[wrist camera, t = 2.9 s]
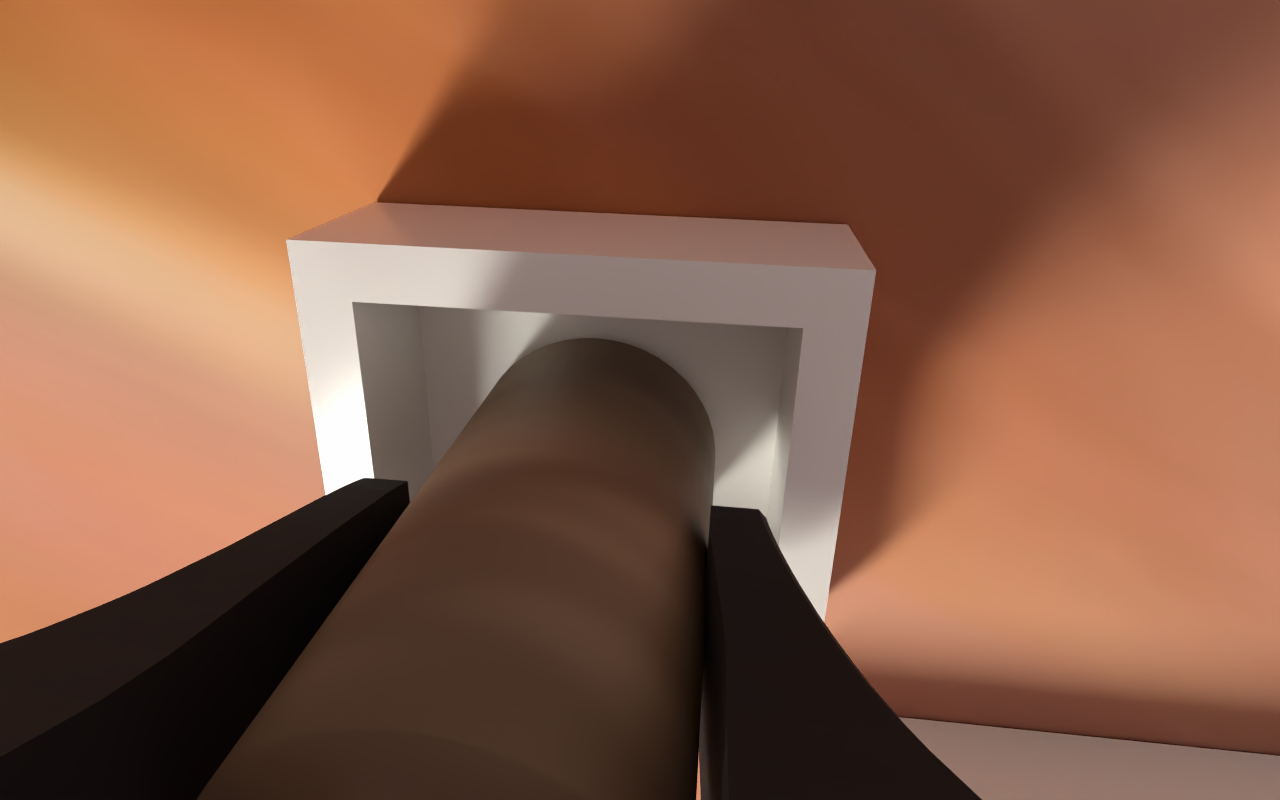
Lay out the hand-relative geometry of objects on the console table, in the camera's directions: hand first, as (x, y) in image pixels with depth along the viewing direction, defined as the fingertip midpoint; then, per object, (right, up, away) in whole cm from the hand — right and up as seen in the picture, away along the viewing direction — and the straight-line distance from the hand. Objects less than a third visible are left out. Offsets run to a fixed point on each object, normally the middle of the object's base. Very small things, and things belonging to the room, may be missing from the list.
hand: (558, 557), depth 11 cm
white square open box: (0, +2, +4) cm, 4 cm away
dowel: (0, +1, +3) cm, 3 cm away
